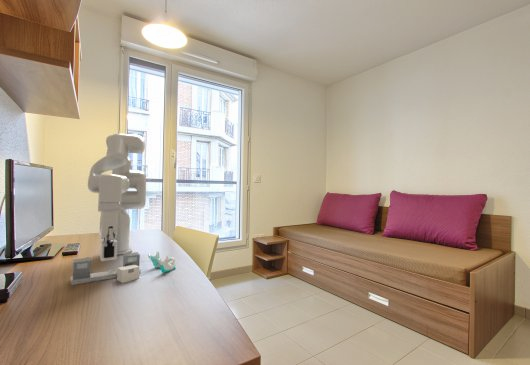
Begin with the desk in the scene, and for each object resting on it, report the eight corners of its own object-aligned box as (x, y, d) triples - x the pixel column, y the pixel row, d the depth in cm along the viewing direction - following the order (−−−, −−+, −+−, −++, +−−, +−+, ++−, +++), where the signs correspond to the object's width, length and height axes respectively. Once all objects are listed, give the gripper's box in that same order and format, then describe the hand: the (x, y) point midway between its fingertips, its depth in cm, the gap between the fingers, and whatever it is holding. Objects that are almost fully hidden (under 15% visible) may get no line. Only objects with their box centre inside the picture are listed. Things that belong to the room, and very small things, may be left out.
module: (100, 258, 99) (100, 241, 99) (115, 256, 102) (115, 239, 102) (101, 261, 95) (101, 243, 95) (116, 259, 98) (117, 241, 98)
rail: (70, 280, 94) (71, 259, 94) (137, 270, 107) (138, 251, 107) (70, 285, 90) (71, 262, 90) (140, 273, 103) (141, 254, 103)
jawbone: (183, 268, 109) (175, 249, 107) (165, 280, 104) (157, 260, 101) (170, 261, 118) (163, 243, 115) (153, 271, 112) (145, 253, 110)
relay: (117, 280, 96) (117, 267, 96) (133, 276, 100) (134, 264, 100) (122, 283, 93) (122, 270, 93) (138, 278, 98) (139, 266, 98)
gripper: (96, 206, 103) (94, 252, 103) (100, 208, 90) (98, 262, 89) (117, 205, 108) (116, 250, 107) (124, 208, 94) (123, 259, 94)
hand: (108, 255), depth 98 cm, fingers closed on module, 4 cm apart
